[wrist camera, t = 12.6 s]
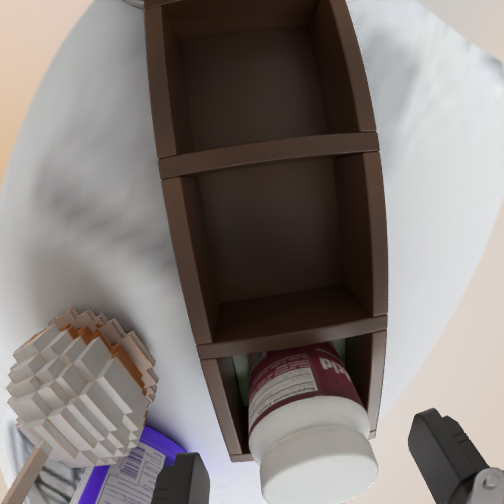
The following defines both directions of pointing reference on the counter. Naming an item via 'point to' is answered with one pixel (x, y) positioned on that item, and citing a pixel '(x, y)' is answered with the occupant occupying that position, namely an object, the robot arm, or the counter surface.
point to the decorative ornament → (79, 394)
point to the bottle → (128, 473)
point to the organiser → (270, 189)
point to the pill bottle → (308, 427)
